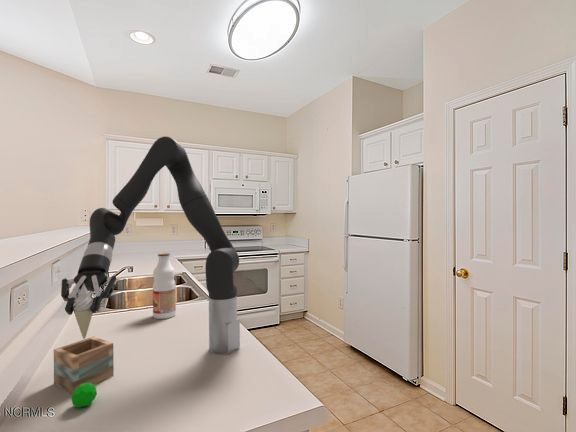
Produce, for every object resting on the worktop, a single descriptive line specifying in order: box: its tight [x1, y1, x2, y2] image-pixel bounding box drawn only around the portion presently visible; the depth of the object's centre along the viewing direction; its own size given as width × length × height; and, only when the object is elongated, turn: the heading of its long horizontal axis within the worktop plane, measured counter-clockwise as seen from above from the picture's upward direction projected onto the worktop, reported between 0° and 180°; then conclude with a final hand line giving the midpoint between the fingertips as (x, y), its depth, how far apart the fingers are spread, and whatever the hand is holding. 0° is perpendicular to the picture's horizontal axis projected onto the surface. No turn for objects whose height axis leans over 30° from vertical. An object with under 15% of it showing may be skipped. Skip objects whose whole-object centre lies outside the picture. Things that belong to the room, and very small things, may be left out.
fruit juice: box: [152, 252, 177, 320], centre depth 135 cm, size 9×9×28 cm
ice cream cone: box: [73, 284, 94, 340], centre depth 82 cm, size 5×5×15 cm
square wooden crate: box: [53, 336, 115, 394], centre depth 82 cm, size 10×10×9 cm
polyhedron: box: [70, 383, 98, 408], centre depth 71 cm, size 5×5×5 cm
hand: (81, 312), depth 80 cm, fingers closed on ice cream cone, 5 cm apart
